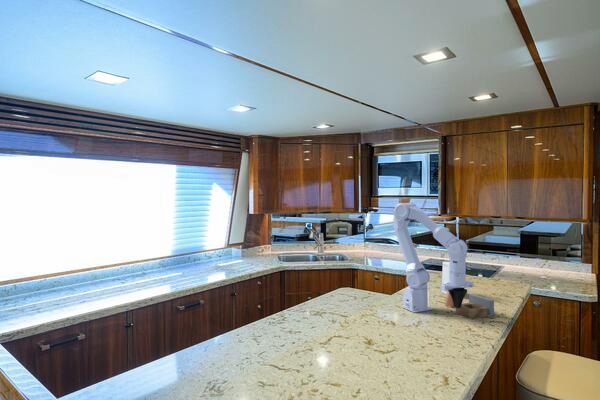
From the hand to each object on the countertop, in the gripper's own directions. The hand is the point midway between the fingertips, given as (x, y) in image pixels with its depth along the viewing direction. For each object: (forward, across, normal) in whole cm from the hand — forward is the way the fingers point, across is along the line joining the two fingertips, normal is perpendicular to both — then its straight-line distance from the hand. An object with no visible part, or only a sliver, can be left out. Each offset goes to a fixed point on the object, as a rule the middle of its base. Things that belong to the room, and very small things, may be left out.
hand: (457, 307), depth 138 cm
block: (+3, +7, 0) cm, 8 cm away
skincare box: (+4, +21, +24) cm, 32 cm away
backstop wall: (+3, +12, 0) cm, 13 cm away
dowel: (+4, +7, +11) cm, 13 cm away
